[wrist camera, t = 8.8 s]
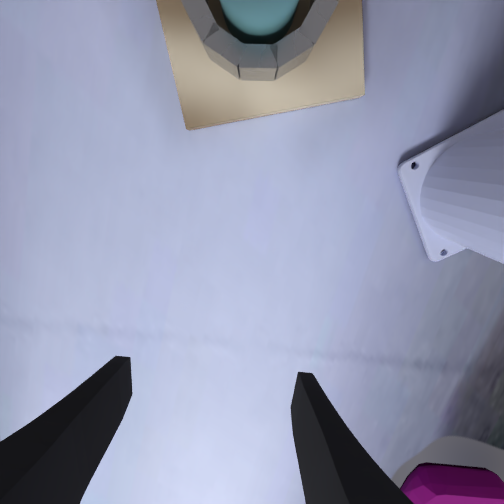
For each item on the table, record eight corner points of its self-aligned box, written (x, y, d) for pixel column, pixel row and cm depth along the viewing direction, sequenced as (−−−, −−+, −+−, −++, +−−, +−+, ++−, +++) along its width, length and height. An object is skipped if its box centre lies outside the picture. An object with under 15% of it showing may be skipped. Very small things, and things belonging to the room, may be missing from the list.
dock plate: (137, -96, 14) (129, -114, 13) (349, -149, 13) (356, -172, 13) (189, 130, 18) (186, 129, 17) (358, 97, 17) (364, 94, 16)
